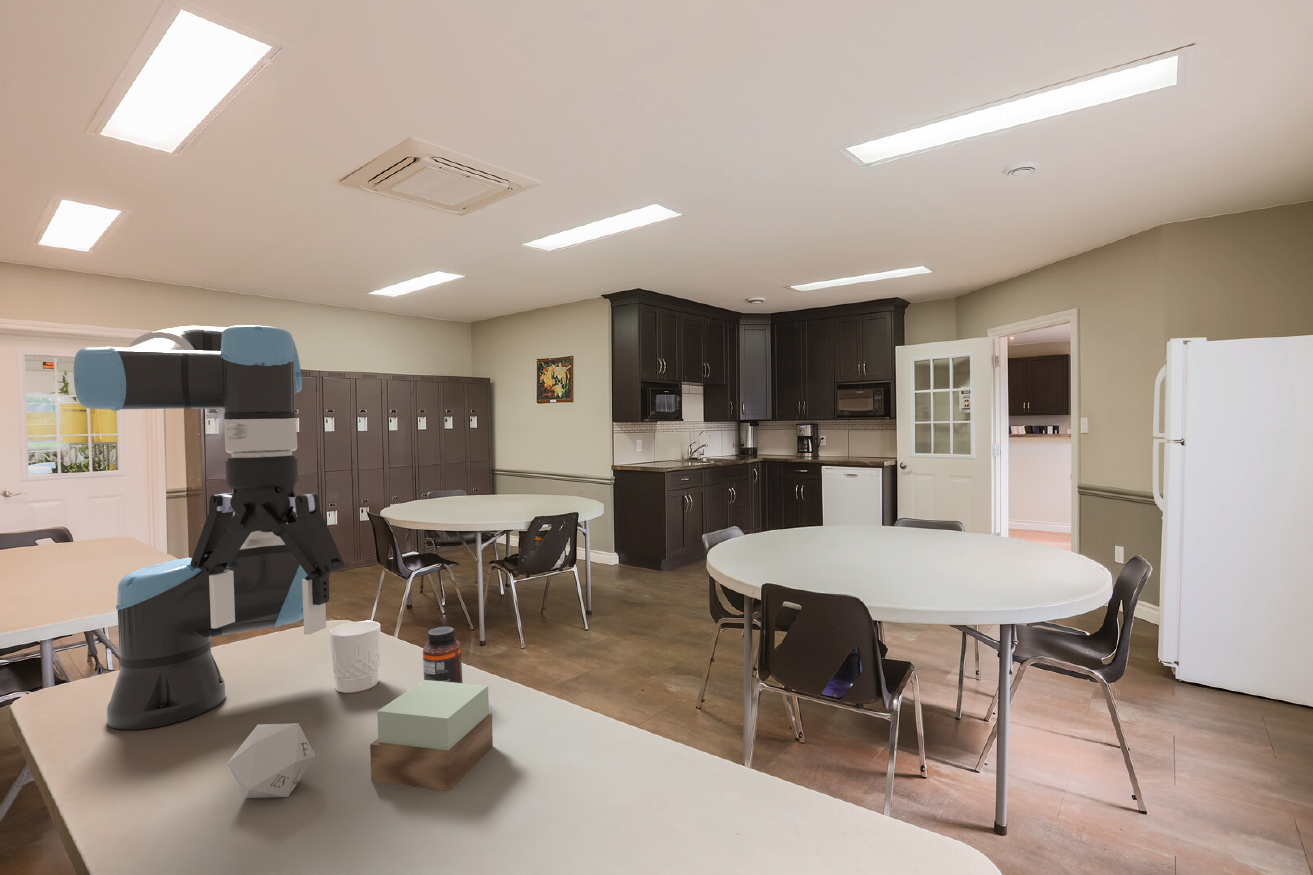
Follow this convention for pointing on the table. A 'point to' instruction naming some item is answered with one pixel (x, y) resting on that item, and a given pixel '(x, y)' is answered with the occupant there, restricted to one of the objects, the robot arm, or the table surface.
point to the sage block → (433, 714)
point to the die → (271, 760)
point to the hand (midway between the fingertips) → (268, 628)
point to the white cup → (355, 655)
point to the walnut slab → (430, 760)
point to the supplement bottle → (442, 656)
